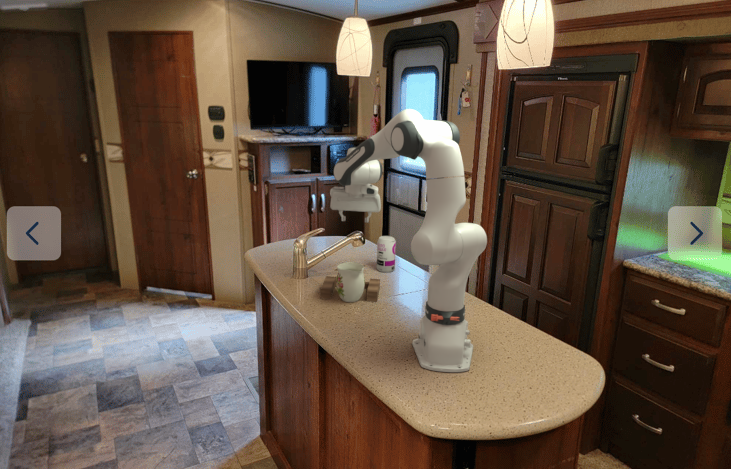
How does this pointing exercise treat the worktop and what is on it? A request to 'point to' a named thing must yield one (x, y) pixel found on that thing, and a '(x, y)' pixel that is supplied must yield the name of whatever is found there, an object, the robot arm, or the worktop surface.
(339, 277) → the pitcher
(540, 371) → the worktop surface
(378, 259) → the supplement can
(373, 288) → the holder
